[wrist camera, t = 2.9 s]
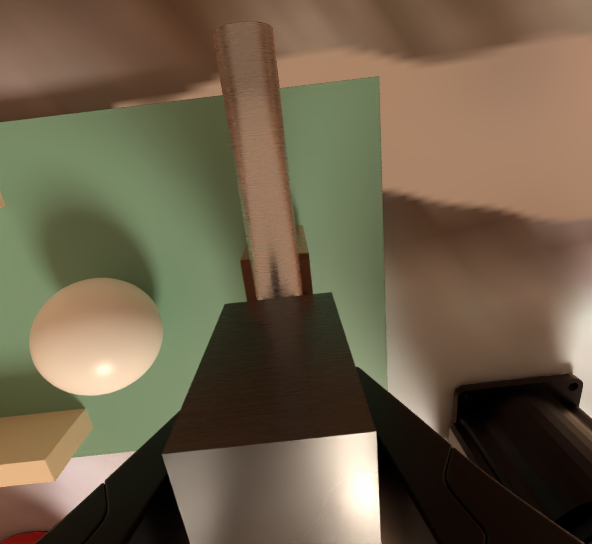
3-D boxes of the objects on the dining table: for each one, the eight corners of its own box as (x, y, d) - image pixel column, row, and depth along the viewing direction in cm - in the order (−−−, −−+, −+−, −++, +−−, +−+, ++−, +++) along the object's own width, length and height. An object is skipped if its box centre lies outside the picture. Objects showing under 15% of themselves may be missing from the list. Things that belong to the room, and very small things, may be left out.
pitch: (372, 81, 13) (406, 52, 9) (383, 410, 18) (407, 475, 15) (-175, 148, 14) (-355, 146, 10) (-12, 452, 19) (-86, 527, 15)
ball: (164, 257, 14) (113, 299, 10) (186, 347, 16) (150, 416, 12) (62, 269, 14) (-29, 315, 10) (94, 357, 16) (25, 429, 12)
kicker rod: (300, 66, 12) (346, -250, 3) (336, 445, 17) (390, 772, 8) (214, 77, 12) (-45, -196, 3) (277, 451, 17) (266, 783, 8)
